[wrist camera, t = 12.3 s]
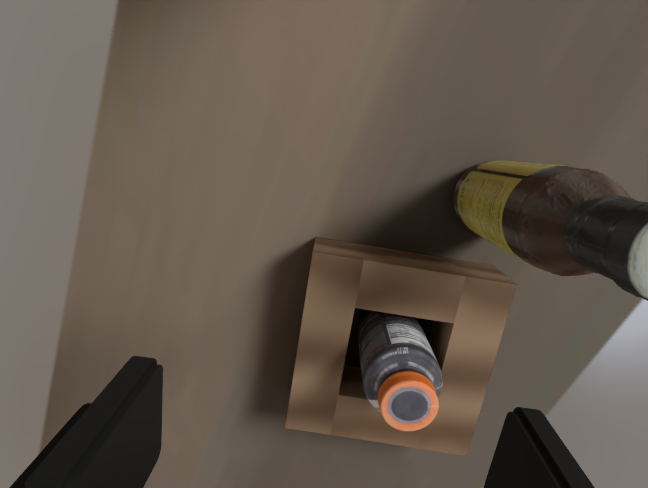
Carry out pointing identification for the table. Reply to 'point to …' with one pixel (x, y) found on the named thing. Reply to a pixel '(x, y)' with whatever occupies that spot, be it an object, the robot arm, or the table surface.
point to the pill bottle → (399, 370)
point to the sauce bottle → (558, 219)
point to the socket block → (408, 300)
